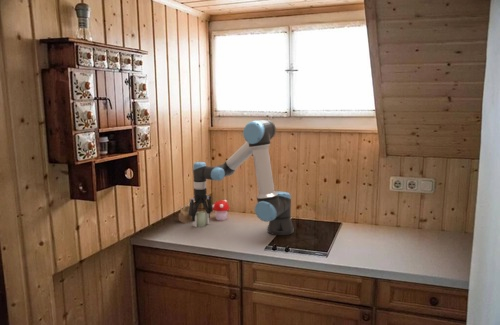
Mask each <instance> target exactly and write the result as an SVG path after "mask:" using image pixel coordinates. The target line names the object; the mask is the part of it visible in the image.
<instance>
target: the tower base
mask: <svg viewBox="0 0 500 325" xmlns="http://www.w3.org/2000/svg"><path fill="white" fill-rule="evenodd" d="M178 221H179V222H181V223H183V224H188V223H193V221H192V216H190V215H189V214H188V215H183V214H181V212H179V213H178Z"/></svg>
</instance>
